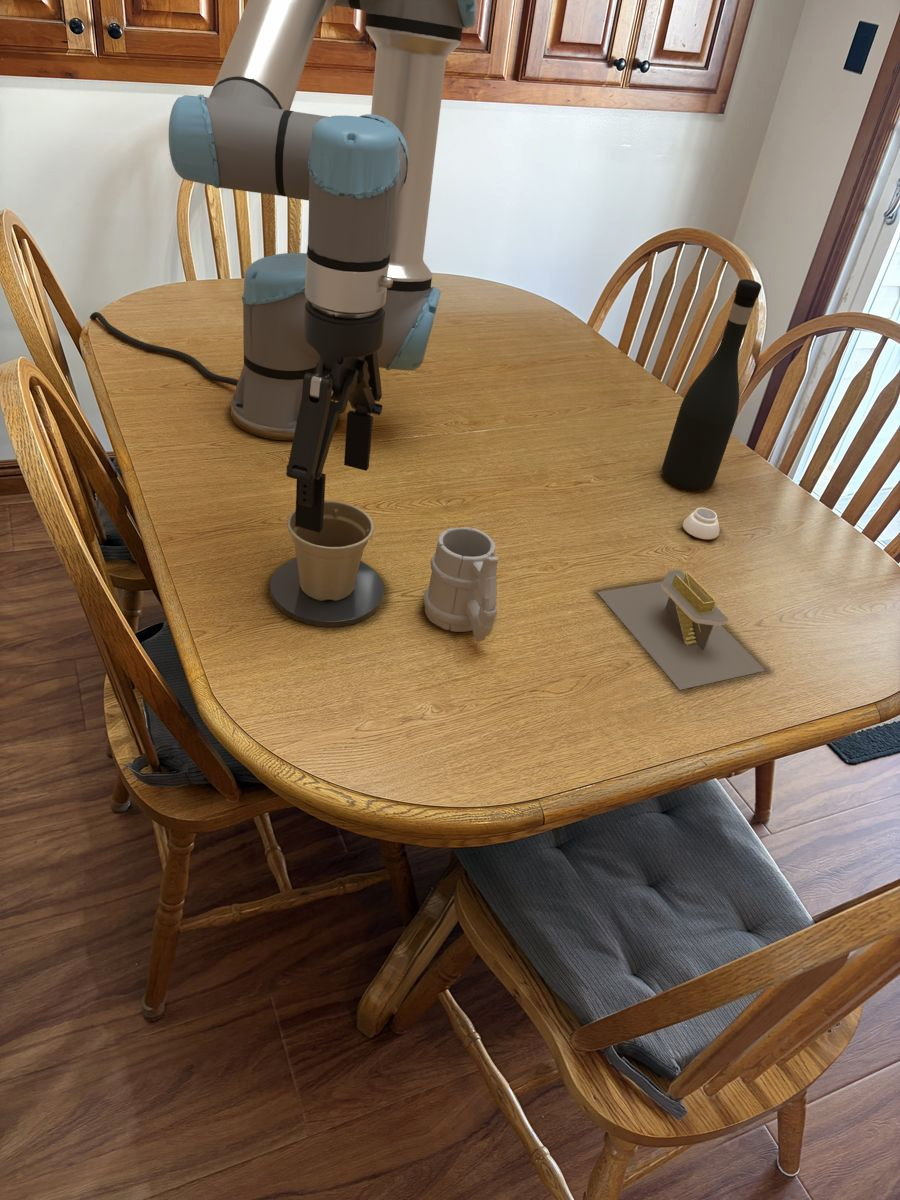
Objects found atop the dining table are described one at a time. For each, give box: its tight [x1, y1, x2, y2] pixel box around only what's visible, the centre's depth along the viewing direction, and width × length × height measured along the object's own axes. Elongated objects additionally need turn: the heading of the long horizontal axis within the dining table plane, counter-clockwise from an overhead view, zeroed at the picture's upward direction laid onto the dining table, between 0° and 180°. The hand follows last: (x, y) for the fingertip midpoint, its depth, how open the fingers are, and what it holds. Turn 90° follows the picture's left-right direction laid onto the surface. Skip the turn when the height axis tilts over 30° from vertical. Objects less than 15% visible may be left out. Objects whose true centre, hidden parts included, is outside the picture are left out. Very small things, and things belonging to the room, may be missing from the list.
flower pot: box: [286, 499, 375, 601], centre depth 105 cm, size 9×9×9 cm
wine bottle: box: [661, 278, 762, 492], centre depth 132 cm, size 8×8×30 cm
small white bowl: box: [682, 507, 721, 540], centre depth 129 cm, size 5×3×5 cm
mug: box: [423, 526, 499, 642], centre depth 103 cm, size 8×12×12 cm, turn 23°
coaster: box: [269, 557, 385, 628], centre depth 108 cm, size 13×13×1 cm
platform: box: [596, 569, 766, 691], centre depth 109 cm, size 12×18×7 cm, turn 23°
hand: (333, 495), depth 101 cm, fingers open, 13 cm apart
